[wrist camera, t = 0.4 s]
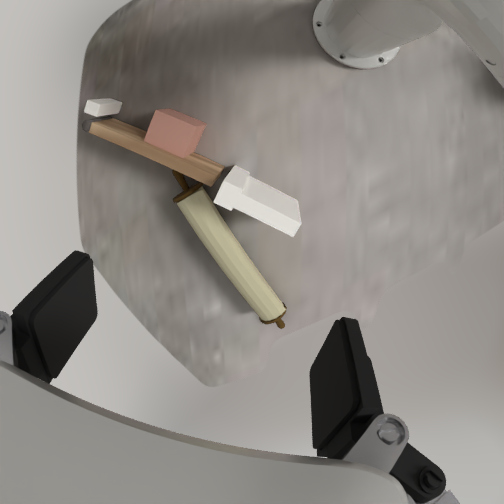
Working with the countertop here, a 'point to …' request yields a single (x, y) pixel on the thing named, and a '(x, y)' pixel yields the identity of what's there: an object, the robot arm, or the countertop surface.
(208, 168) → the door
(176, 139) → the block
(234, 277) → the rolling pin
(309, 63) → the countertop surface
